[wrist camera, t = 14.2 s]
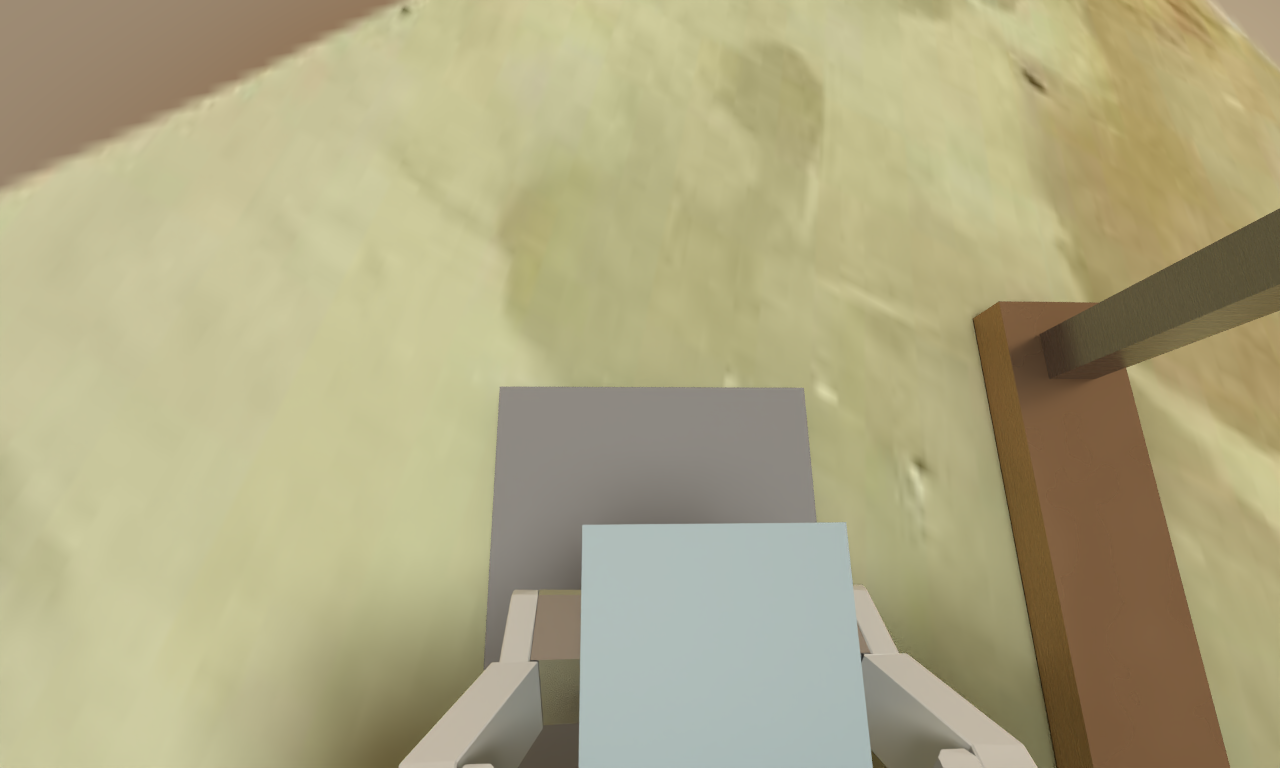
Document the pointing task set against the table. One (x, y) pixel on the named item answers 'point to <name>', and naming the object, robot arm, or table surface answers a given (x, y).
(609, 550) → the block
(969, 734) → the robot arm
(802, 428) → the pad
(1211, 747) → the wire frame
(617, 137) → the table surface
